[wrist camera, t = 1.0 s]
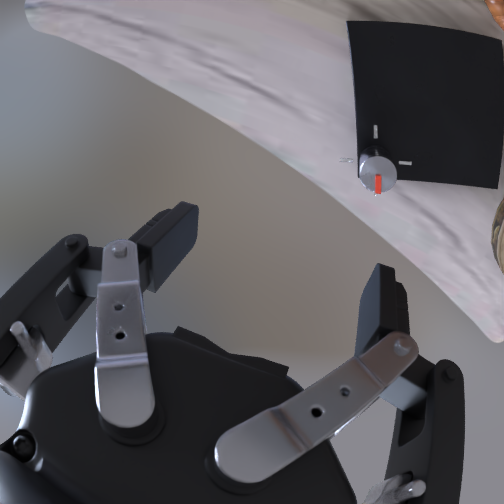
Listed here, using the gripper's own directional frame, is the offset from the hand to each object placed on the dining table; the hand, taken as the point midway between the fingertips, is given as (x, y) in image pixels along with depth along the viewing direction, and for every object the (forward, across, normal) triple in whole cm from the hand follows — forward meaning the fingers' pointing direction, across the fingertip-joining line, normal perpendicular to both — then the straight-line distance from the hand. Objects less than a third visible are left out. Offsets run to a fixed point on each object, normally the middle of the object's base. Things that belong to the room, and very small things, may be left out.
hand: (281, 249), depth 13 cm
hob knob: (+22, -5, +1) cm, 22 cm away
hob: (+24, -9, -6) cm, 27 cm away
